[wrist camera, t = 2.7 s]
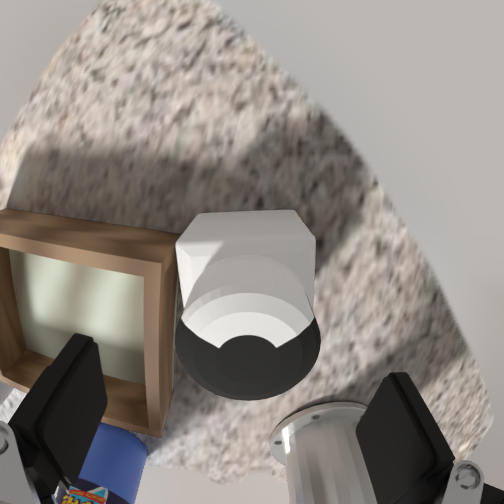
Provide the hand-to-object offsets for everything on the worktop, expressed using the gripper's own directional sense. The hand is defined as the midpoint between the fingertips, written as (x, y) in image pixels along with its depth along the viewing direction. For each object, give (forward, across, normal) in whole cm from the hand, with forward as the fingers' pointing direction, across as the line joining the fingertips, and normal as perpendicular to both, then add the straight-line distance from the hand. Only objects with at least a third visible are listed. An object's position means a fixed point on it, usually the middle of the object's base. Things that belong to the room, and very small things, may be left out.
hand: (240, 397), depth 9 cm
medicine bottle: (+15, 0, +1) cm, 15 cm away
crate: (+15, +14, +8) cm, 21 cm away
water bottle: (+14, +12, +29) cm, 35 cm away
